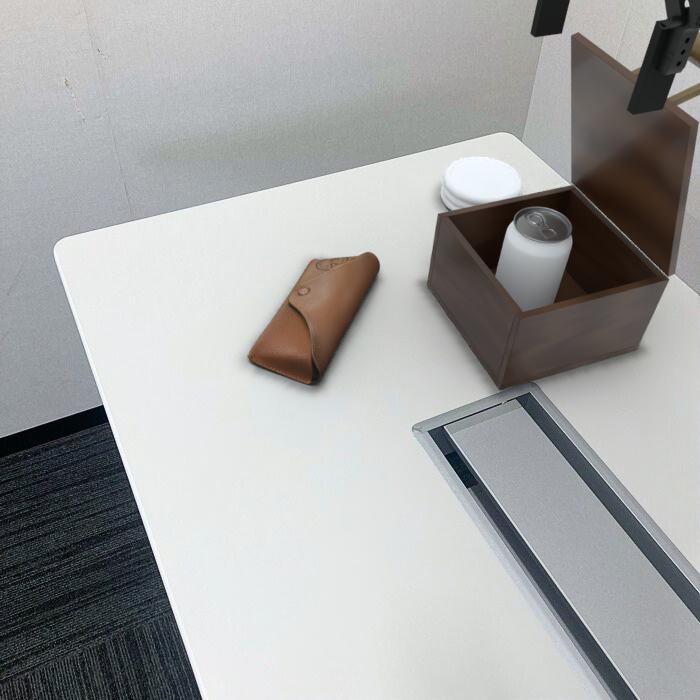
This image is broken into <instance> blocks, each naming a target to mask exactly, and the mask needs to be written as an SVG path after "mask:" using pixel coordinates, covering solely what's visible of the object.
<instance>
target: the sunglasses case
mask: <svg viewBox="0 0 700 700" xmlns="http://www.w3.org/2000/svg"><path fill="white" fill-rule="evenodd" d="M380 270H381V263H380V259H379V258H378V256H377V255H376V254H375V253H373V252H371V251H366V252H363V253H361V254H359V255H353V256H342V257H332V258H331V257H330V258H323V259H318V258H313V259H311V260H310V261H309V263H308V264H307V265H306V267H305V268H304V270H303V271H302V273H301V275H300V276H299V278H298V280H297V282H296V283H295V285H294V286H293V287H292V289H291V291H290V292H289V294H288V295H287V297H286V299H285V300H284V301H283V303H282V304H281V306H280V307H279V308H278V310H277V311H276V313H275V314H274V316H273V317H272V319H271V320H270V321H269V323H268V324H267V326H266V327H265V329H264V330H263V332H261V334H260V335H259V337H258V338H257V340H255V342H254V343H253V345H252V346H251V348H250V350H249V352H248V353H247V356H246V357H247V358H248V360H249V361H250V362H251V363H252V364H254V365H257V366H259V367H261V368H262V369H265V370H267V371H270V372H272V373H274V374H277V375H280V376H282V377H285V378H288V379H289V380H293V381H295V382H299V383H301V384H305V385H307V386H310V385H316V384H318V383H319V382H321V381H322V379H323V378H324V376H325V374H326V372H327V370H328V369H329V367H330V365H331V363H332V361H333V360H334V357H335V355H336V353H337V352H338V350H339V348H340V345H341V344H342V342H343V340H344V338H345V336H346V334H347V332H348V331H349V329H350V326H351V325H352V323H353V321H354V319H355V317H356V315H357V313H358V312H359V310H360V308H361V306H362V304H363V303H364V301H365V298H366V297H367V295H368V293H369V291H370V290H371V288H372V286H373V285H374V283H375V281H376V280H377V277H378V275H379V273H380Z"/></svg>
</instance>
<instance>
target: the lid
mask: <svg viewBox="0 0 700 700" xmlns="http://www.w3.org/2000/svg"><path fill="white" fill-rule="evenodd" d="M687 62H689V63H691V64H692V65H693V66H695V67H696V68H698V69H700V31H699V32H698V34H697V37H696V40H695V42H694V45H693V48H692V50H691V52H690V56H689V58H688V61H687ZM640 69H641V66H640V67H638V68H635V69H633V70H630V69H629V68H627V67H626V66H625V65H623V64H622V63H621V62H619V61H618V60H617V59H615V58H614V57H613V56H611V55H610V54H609V53H607V52H606V51H604V50H603V49H602V48H600V47H599V46H598V45H596V44H595V42H593V41H591V40H590V39H588V37H586V36H585V35H583V34H582V33H580V32H579V31H578V32H575V33H572V34H571V35H570V153H571V154H570V174H571V175H570V177H571V178H570V183H571V185H574V186H575V187H576V188H577V189H578V190H579V191H580V192H581V193H582V194H583V195H584V196H585V197H586V198H587V199H588V200H589V201H590V202H591V203H592V204H593V205H594V206H595V207H596V208H597V209H598V210H599V211H600V212H601V213H602V214H603V215H604V216H605V217H606V218H607V219H608V220H609V221H611V222H612V223H613V224H614V225H615V226H616V227H617V228H618V229H619V230H620V231H621V232H622V233H623V234H624V235H625V236H626V237H627V238H628V239H629V240H630V241H631V242H632V243H633V244H634V245H635V246H636V247H637V248H638V249H639V250H640V251H641V252H642V253H643V254H644V255H645V256H646V257H647V258H648V259H649V260H650V261H651V262H652V263H653V264H654V265H655V266H656V267H657V268H658V269H659V270H661V271H662V272H663V273H664V275H666V276H667V277H668V278H669V277H671V276H674V275H675V274H676V270H677V264H678V259H679V251H680V245H681V239H682V234H683V233H682V232H683V227H684V220H685V215H686V208H687V207H686V206H687V202H688V195H689V188H690V184H691V183H690V181H691V177H692V176H691V175H692V170H693V165H694V164H693V163H694V158H695V150H696V143H697V136H698V131H699V126H700V121H698V120H697V119H696V118H695V117H693V116H692V115H691V114H689V113H688V112H686V111H685V110H684V109H683V108H681V107H679V106H680V105H682V104H684V103H686V102H688V101H690V100H692V99H695V98H696V97H698V96H700V82H699V83H696V84H694V85H692V86H690V87H687V88H686V89H683V90H682V91H679V92H677V93H675V94H673V95H671V96H669V97H667V100H666V102H665V105H664V108H663V109H662V110H657V111H651V112H646V113H640V114H635V115H632V114H631V113H630V112H629V111H627V108H628V105H629V102H630V99H631V96H632V93H633V90H634V87H635V84H636V81H637V78H638V75H639V72H640Z"/></svg>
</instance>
